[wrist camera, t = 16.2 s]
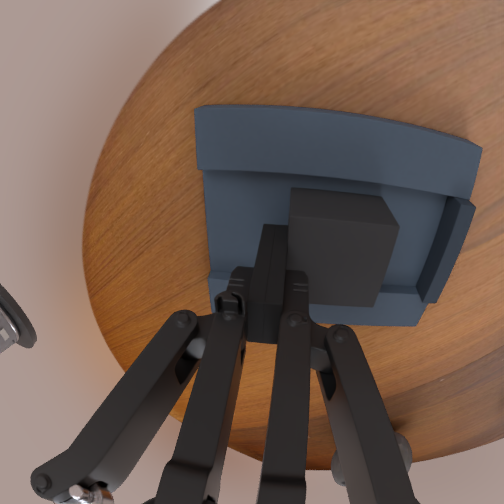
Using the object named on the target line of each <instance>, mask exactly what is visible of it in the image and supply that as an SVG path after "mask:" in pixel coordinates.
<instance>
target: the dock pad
mask: <svg viewBox="0 0 504 504" xmlns="http://www.w3.org/2000/svg"><path fill="white" fill-rule="evenodd" d="M194 115H195V136H196V153H197V169H198V170H203V183H204V198H205V211H206V223H207V235H208V246H209V257H210V267H211V271H210V274H209V276H208V286H209V294H210V303H211V310H212V313H215V312H216V311H215V303H214V299H215V297H216V295H218V294H219V293H221V292H223V291H226V289H227V285H228V282H229V280H230V276H231V272H232V271H233V270H234V269H235V268H236V267H237V266H243V267H254V265H255V261H256V256H257V252H258V247H259V242H260V238H261V233H262V228H263V224H275V225H288V219H289V205H290V191H291V187H296V188H308V189H319V190H330V191H339V192H349V193H357V194H366V195H374V196H381V197H382V198H383V199H384V201H385V202H386V204H387V206H388V207H389V209H390V211H391V212H392V214H393V216H394V217H395V219H396V221H397V222H398V224H399V226H400V229H399V232H398V236H397V239H396V243H395V246H394V249H393V253H392V256H391V259H390V262H389V265H388V268H387V271H386V274H385V277H384V280H383V283H382V285H381V288H380V291H379V294H378V296H377V299H376V302H375V304H374V307H373V308H371V307H351V306H334V305H318V304H309V316H310V318H311V319H312V320H313V321H314V322H315V323H326V324H345V325H368V326H416V325H417V323H418V322H419V320H420V318H421V316H422V314H423V312H424V310H425V308H426V306H427V304H428V303H436V302H437V300H438V298H439V296H440V294H441V292H442V290H443V288H444V286H445V284H446V282H447V280H448V278H449V276H450V273H451V271H452V269H453V267H454V264H455V262H456V260H457V257H458V255H459V253H460V250H461V248H462V245H463V243H464V240H465V238H466V235H467V232H468V230H469V227H470V224H471V221H472V218H473V215H474V212H475V209H476V207H475V206H474V205H473V204H472V203H471V202H470V201H469V200H470V197H471V193H472V190H473V186H474V183H475V179H476V175H477V171H478V167H479V163H480V158H481V153H482V147H480V146H478V145H476V144H474V143H473V142H471V141H469V140H466V139H463V138H460V137H457V136H454V135H450V134H447V133H443V132H440V131H436V130H433V129H429V128H425V127H421V126H417V125H413V124H408V123H404V122H399V121H395V120H390V119H385V118H379V117H374V116H368V115H362V114H356V113H349V112H342V111H334V110H326V109H316V108H306V107H293V106H276V105H204V106H201V107H198V108H196V109H194Z"/></svg>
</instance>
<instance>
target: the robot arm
mask: <svg viewBox="0 0 504 504" xmlns="http://www.w3.org/2000/svg"><path fill="white" fill-rule="evenodd" d="M287 239H288V225H275V224H263V228H262V233H261V238H260V242H259V247H258V252H257V256H256V261H255V265H254V267H243V266H237V267H236V268H235V269H234V270H233V271H232V272H231V276H230V280H229V282H228V285H227V289H226V291H223V292H221V293H219V294H218V295H216V297H215V299H214V303H215V311H216V312H215V313H212V314H210V315H205V316H196V314H195V313H194V312H192V311H190V310H179V311H177V312H174V313H173V314H172V315H171V316H170V317H169V318H168V320H167V321H166V322H165V323H164V325H163V326H162V327H161V328H160V330H159V331H158V332H157V333H156V335H155V336H154V337H153V339H152V340H151V341H150V342H149V344H148V345H147V346H146V347H145V349H144V350H143V351H142V352H141V354H140V355H139V356H138V358H137V359H136V360H135V361H134V363H133V364H132V365H131V367H130V368H129V369H128V370H127V372H126V373H125V374H124V376H123V377H122V378H121V379H120V381H119V382H118V383H117V385H116V386H115V387H114V389H113V390H112V391H111V392H110V394H109V395H108V396H107V398H106V399H105V400H104V402H103V403H102V404H101V406H100V407H99V408H98V409H97V411H96V412H95V413H94V415H93V416H92V418H91V419H90V420H89V422H88V423H87V424H86V426H85V427H84V428H83V430H82V431H81V432H80V434H79V435H78V436H77V438H76V439H75V441H74V442H73V443H72V444H71V446H70V447H69V449H67V450H66V451H64V452H62V453H61V454H59V455H58V456H56V457H54V458H53V459H51V460H50V461H48V462H46V463H44V464H43V465H41V466H39V467H38V468H36V469H35V470H34V471H33V472H32V474H31V485H32V488H33V490H34V491H35V493H36V494H37V495H39V496H40V497H41V498H44V499H47V500H50V501H53V502H54V504H114V499H113V496H112V494H111V493H112V492H114V491H115V490H116V489H117V488H118V487H119V486H120V485H121V484H122V483H123V482H124V481H125V480H126V478H127V477H128V476H129V474H130V473H131V471H132V470H133V468H134V467H135V465H136V464H137V462H138V461H139V459H140V458H141V456H142V454H143V453H144V451H145V450H146V448H147V447H148V445H149V444H150V442H151V441H152V439H153V438H154V436H155V434H156V433H157V431H158V430H159V428H160V427H161V425H162V424H163V422H164V421H165V419H166V417H167V416H168V414H169V413H170V411H171V410H172V408H173V406H174V405H175V403H176V402H177V400H178V399H179V397H180V396H181V394H182V392H183V391H184V389H185V388H186V386H187V384H188V383H189V381H190V380H191V378H192V377H193V375H194V373H195V372H196V370H197V369H198V372H197V375H196V378H195V382H194V385H193V388H192V392H191V395H190V398H189V402H188V405H187V409H186V412H185V415H184V419H183V422H182V426H181V429H180V433H179V436H178V440H177V443H176V447H175V450H174V454H173V456H172V459H171V460H170V461H169V462H168V463H167V464H166V466H165V467H164V470H163V473H162V477H161V480H160V484H159V487H158V491H157V494H156V497H154V498H152V499H150V500H148V501H146V502H144V503H143V504H217V502H218V497H219V491H220V480H221V475H222V470H223V465H224V460H225V455H226V450H227V445H228V440H229V435H230V430H231V425H232V420H233V415H234V410H235V405H236V400H237V395H238V390H239V384H240V379H241V374H242V369H243V364H244V358H245V353H246V341H248V342H257V343H267V344H277V352H276V360H275V370H274V379H273V387H272V395H271V403H270V411H269V419H268V427H267V434H266V441H265V448H264V455H263V462H262V469H261V475H260V482H259V488H258V494H257V500H256V504H305V499H306V481H305V467H306V454H307V440H308V422H309V400H310V368H312V369H315V370H316V374H317V377H318V381H319V384H320V388H321V392H322V395H323V399H324V403H325V406H326V410H327V414H328V417H329V421H330V425H331V429H332V433H333V436H334V440H335V444H336V448H337V452H338V456H339V460H340V464H341V468H342V472H343V476H344V480H345V484H346V488H347V492H348V497H349V501H350V504H420V503H419V502H418V501H417V499H416V498H415V497H414V493H413V490H412V486H411V483H410V480H409V476H408V473H407V470H406V467H405V463H404V460H403V457H402V454H401V451H400V448H399V445H398V442H397V439H396V437H395V434H394V431H393V428H392V425H391V422H390V420H389V417H388V414H387V411H386V409H385V406H384V403H383V401H382V398H381V395H380V393H379V390H378V388H377V385H376V383H375V380H374V377H373V375H372V372H371V370H370V367H369V365H368V363H367V360H366V358H365V355H364V353H363V350H362V348H361V346H360V343H359V341H358V339H357V336H356V334H355V332H354V331H353V330H352V329H351V328H350V327H348V326H346V325H343V324H336V325H333V326H331V327H330V328H326V327H323V326H320V325H318V324H316V323H315V322H314V321H313V320H312V319H311V318H310V316H309V292H308V291H309V286H308V276H307V275H306V273H305V272H304V271H297V270H286V255H287ZM20 336H21V333H20V330H19V327H18V326H17V324H16V322H15V321H14V319H13V318H12V316H11V315H10V314H9V312H8V311H7V310H6V309H5V307H4V306H3V305H2V304H1V303H0V353H2V352H3V351H4V350H6V349H7V348H9V347H10V346H11V345H13V344H14V343H16V342H17V341H18V339H19V338H20ZM198 367H199V368H198Z"/></svg>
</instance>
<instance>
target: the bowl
mask: <svg viewBox="0 0 504 504" xmlns="http://www.w3.org/2000/svg"><path fill="white" fill-rule="evenodd" d="M394 434H395V437H396V439H397V442H398V445H399V448H400V451H401V454H402V457H403V460H404V463H405V467H406V470H407V473H408V471H409V469H410V467H411V463H412V450H411V447H410V445H409V443H408V441H407V440H406V438H405V437H404V436H403V435H401V434H399V433H397V432H394ZM331 471H332V474H333V478H334V480H335V482H336V483H337V484H339V485H342V486H346V484H345V480H344V476H343V472H342V468H341V464H340V460H339V456H338V452H337V450H336V451H335V453H334V455H333V457H332V462H331Z"/></svg>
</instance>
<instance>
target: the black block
mask: <svg viewBox="0 0 504 504" xmlns="http://www.w3.org/2000/svg"><path fill="white" fill-rule="evenodd" d="M399 229H400V226H399V224H398V222H397V221H396V219H395V217H394V216H393V214H392V212H391V211H390V209H389V207H388V206H387V204H386V202H385V201H384V199H383V198H382V197H381V196H374V195H366V194H357V193H349V192H339V191H330V190H319V189H308V188H296V187H291V191H290V205H289V219H288V239H287V255H286V270H297V271H304V272H305V273H306V275H307V276H308V286H309V291H308V292H309V304H318V305H334V306H351V307H371V308H373V307H374V304H375V302H376V299H377V296H378V294H379V291H380V288H381V285H382V283H383V280H384V277H385V274H386V271H387V268H388V265H389V262H390V259H391V256H392V253H393V249H394V246H395V243H396V239H397V236H398V232H399Z"/></svg>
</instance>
